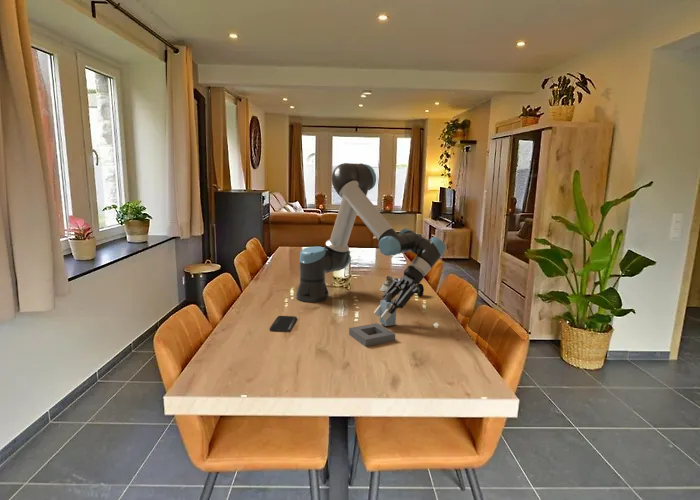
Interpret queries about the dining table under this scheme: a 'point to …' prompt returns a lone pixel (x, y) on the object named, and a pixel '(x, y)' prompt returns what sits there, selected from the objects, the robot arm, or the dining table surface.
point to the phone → (283, 323)
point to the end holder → (367, 340)
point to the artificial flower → (390, 281)
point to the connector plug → (383, 306)
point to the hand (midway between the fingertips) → (379, 316)
